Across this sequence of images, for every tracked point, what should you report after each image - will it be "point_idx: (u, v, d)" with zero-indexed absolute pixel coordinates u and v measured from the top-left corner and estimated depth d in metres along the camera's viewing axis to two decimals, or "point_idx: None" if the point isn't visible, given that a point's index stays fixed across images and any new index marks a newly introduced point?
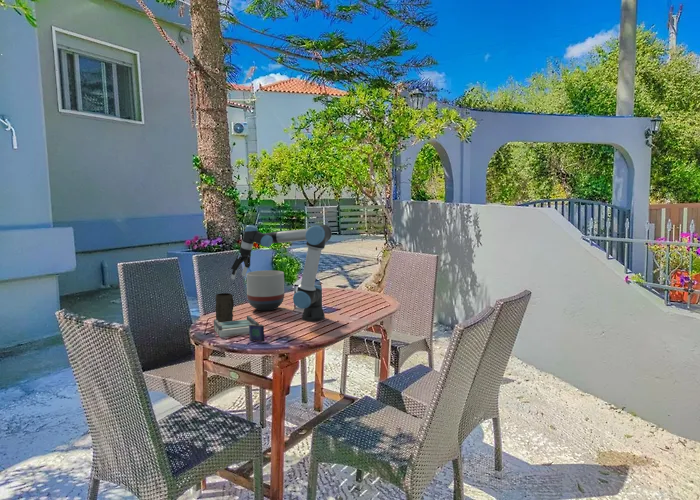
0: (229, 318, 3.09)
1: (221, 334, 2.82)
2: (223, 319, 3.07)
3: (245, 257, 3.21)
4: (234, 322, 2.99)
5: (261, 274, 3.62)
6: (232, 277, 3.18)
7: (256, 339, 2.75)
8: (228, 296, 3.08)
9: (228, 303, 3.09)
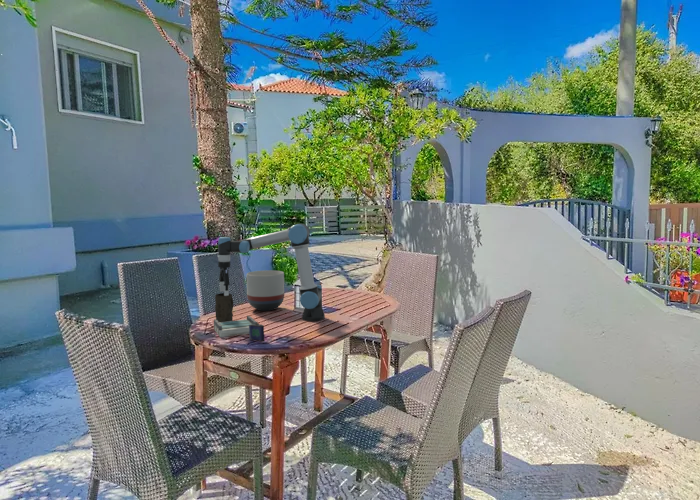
0: (229, 318, 3.09)
1: (221, 334, 2.82)
2: (223, 319, 3.07)
3: None
4: (234, 322, 2.99)
5: (261, 274, 3.62)
6: (226, 293, 3.06)
7: (256, 339, 2.75)
8: (227, 296, 3.08)
9: (228, 303, 3.08)
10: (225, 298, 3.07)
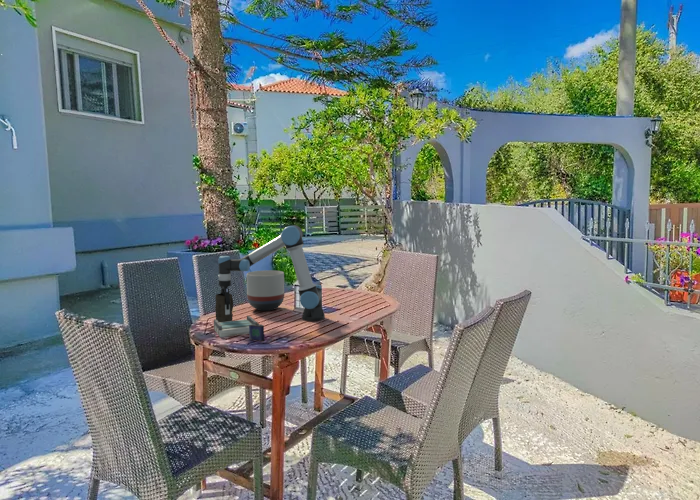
0: (229, 318, 3.10)
1: (221, 334, 2.82)
2: (223, 319, 3.08)
3: None
4: (234, 322, 2.99)
5: (261, 274, 3.62)
6: (227, 312, 3.07)
7: (256, 339, 2.75)
8: None
9: None
10: (225, 298, 3.07)
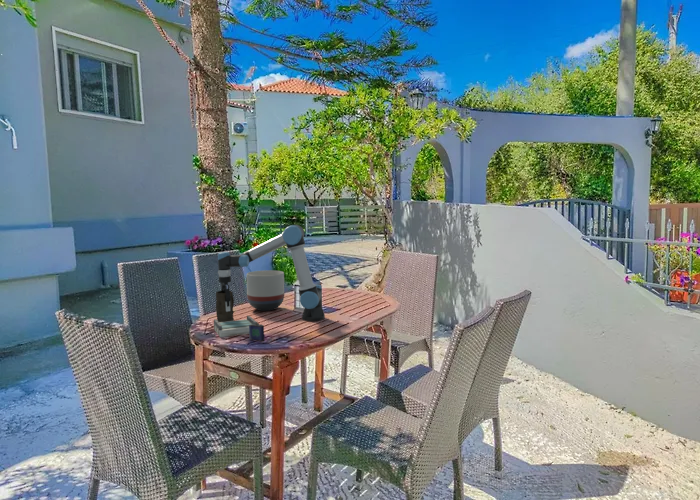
0: (230, 315, 3.11)
1: (221, 334, 2.82)
2: (224, 316, 3.09)
3: None
4: (234, 322, 2.99)
5: (261, 274, 3.62)
6: (227, 309, 3.08)
7: (256, 339, 2.75)
8: None
9: None
10: None
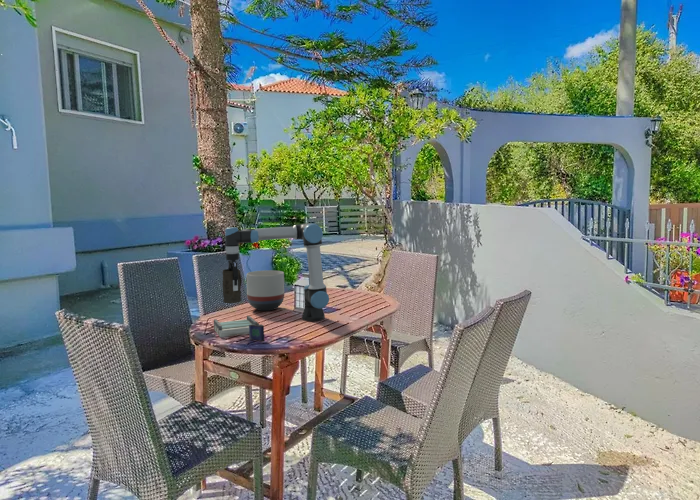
0: (237, 295, 2.90)
1: (221, 334, 2.82)
2: (231, 296, 2.88)
3: None
4: (234, 322, 2.99)
5: (261, 274, 3.62)
6: (235, 288, 2.88)
7: (256, 339, 2.75)
8: None
9: None
10: None
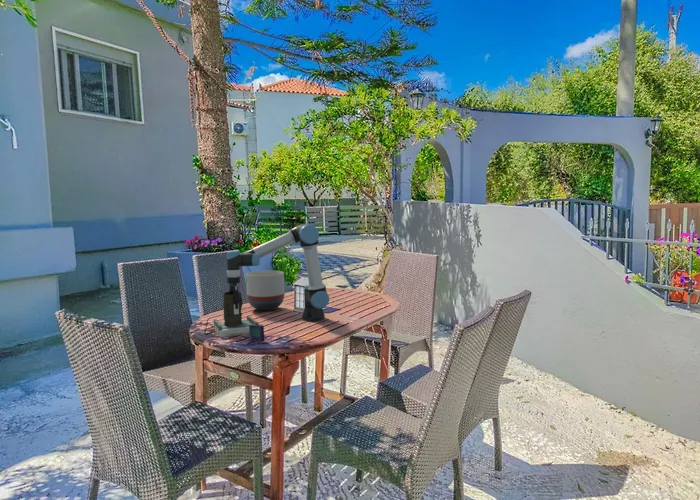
0: (238, 318, 2.91)
1: (221, 334, 2.82)
2: (232, 319, 2.89)
3: None
4: None
5: (261, 274, 3.62)
6: (236, 312, 2.89)
7: (256, 339, 2.75)
8: None
9: None
10: None
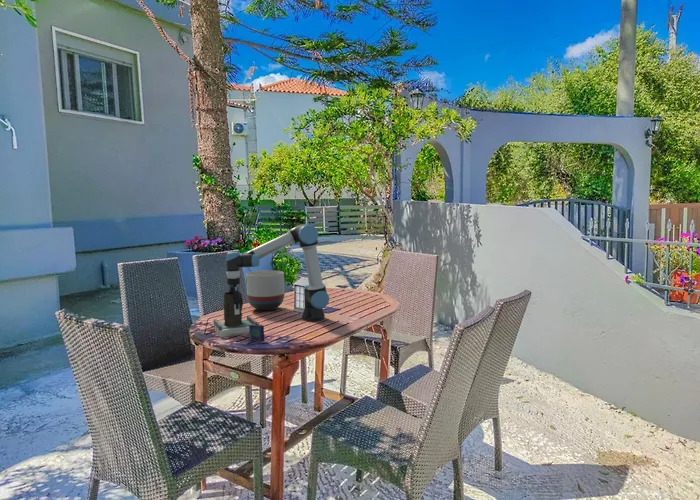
0: (238, 318, 2.91)
1: (221, 334, 2.82)
2: (232, 319, 2.89)
3: None
4: None
5: (261, 274, 3.62)
6: (236, 312, 2.88)
7: (256, 339, 2.75)
8: None
9: None
10: None
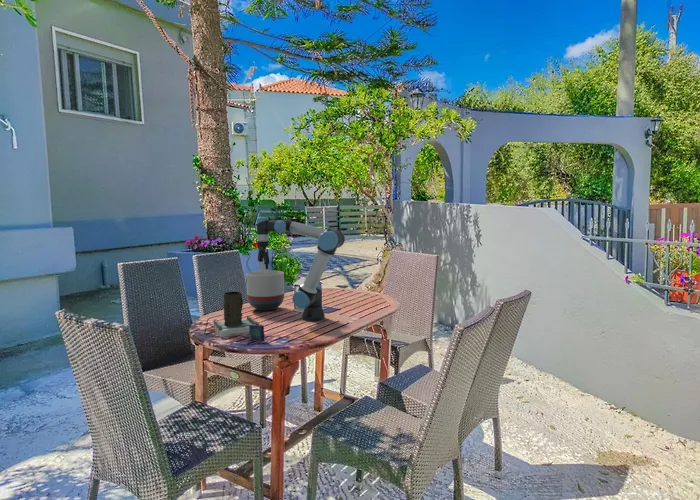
0: (238, 318, 2.91)
1: (221, 334, 2.82)
2: (232, 319, 2.89)
3: None
4: None
5: (261, 274, 3.62)
6: (266, 272, 3.13)
7: (256, 339, 2.75)
8: (237, 295, 2.90)
9: (237, 302, 2.91)
10: (234, 297, 2.89)
